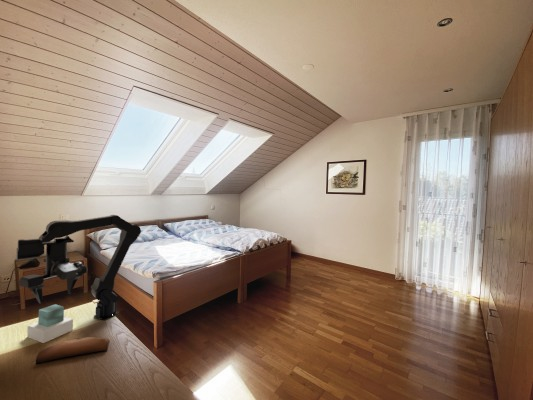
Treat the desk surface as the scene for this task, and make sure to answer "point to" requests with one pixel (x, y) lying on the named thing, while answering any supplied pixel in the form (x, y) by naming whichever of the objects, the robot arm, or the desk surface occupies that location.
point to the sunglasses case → (72, 348)
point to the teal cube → (51, 315)
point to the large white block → (49, 330)
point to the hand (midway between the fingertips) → (55, 298)
